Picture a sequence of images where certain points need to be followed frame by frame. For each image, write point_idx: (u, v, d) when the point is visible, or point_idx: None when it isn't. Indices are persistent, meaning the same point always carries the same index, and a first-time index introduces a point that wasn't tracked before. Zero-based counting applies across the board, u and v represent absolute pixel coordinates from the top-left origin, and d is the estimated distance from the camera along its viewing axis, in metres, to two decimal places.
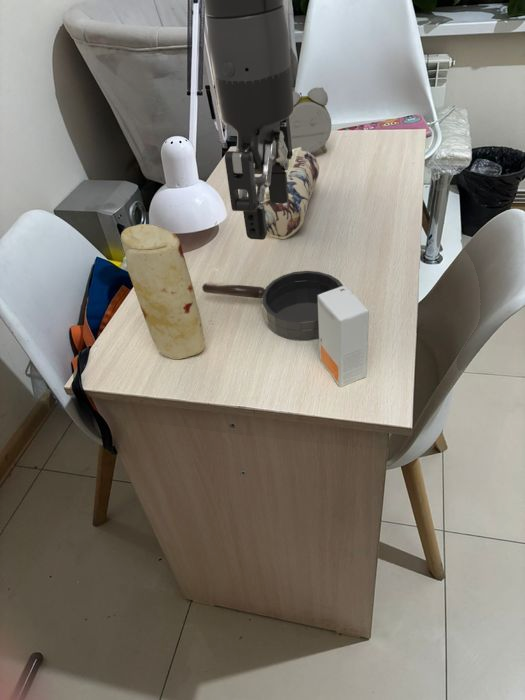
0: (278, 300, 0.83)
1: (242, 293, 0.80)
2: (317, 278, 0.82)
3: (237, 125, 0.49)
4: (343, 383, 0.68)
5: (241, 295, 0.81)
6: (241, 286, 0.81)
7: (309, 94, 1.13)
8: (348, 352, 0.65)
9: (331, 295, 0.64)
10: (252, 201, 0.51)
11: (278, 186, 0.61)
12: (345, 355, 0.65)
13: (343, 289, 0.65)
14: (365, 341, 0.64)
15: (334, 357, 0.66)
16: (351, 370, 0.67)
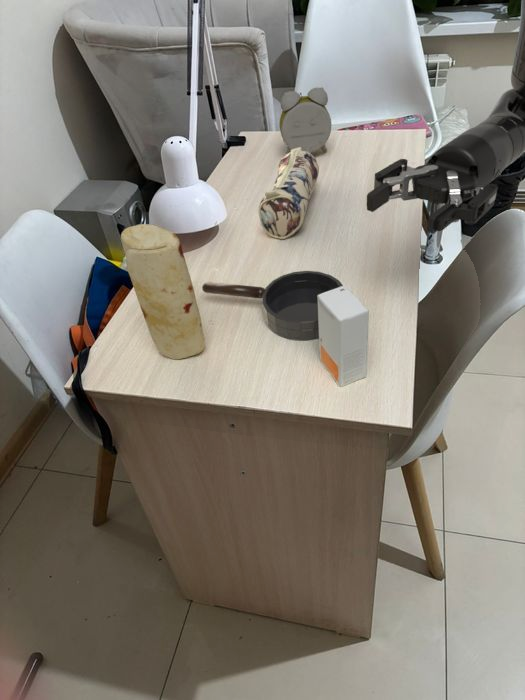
0: (278, 300, 0.83)
1: (242, 293, 0.80)
2: (317, 278, 0.82)
3: None
4: (343, 383, 0.68)
5: (241, 295, 0.81)
6: (241, 286, 0.81)
7: (309, 94, 1.13)
8: (348, 352, 0.65)
9: (331, 295, 0.64)
10: (379, 171, 0.66)
11: None
12: (345, 355, 0.65)
13: (343, 289, 0.65)
14: (365, 341, 0.64)
15: (334, 357, 0.66)
16: (351, 370, 0.67)
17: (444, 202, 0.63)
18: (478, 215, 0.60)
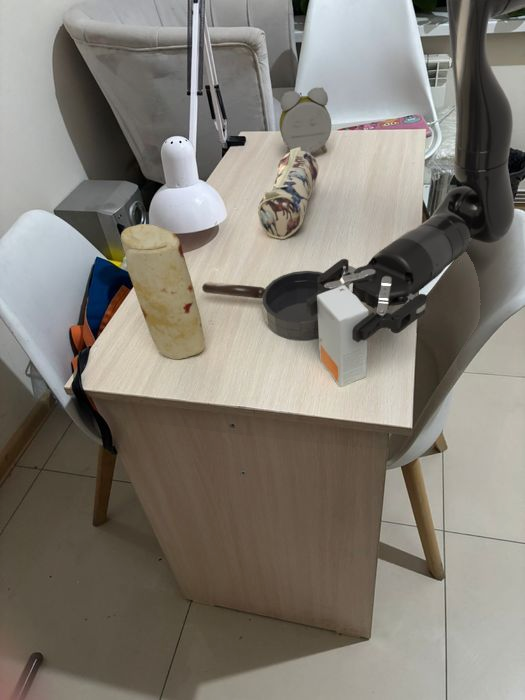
0: (278, 300, 0.83)
1: (242, 293, 0.80)
2: (317, 278, 0.82)
3: None
4: (343, 383, 0.68)
5: (241, 295, 0.81)
6: (241, 286, 0.81)
7: (309, 94, 1.13)
8: (348, 351, 0.65)
9: (330, 295, 0.64)
10: (322, 274, 0.69)
11: None
12: (345, 354, 0.65)
13: (343, 288, 0.65)
14: (365, 341, 0.64)
15: (334, 357, 0.66)
16: (351, 370, 0.67)
17: None
18: (404, 324, 0.63)
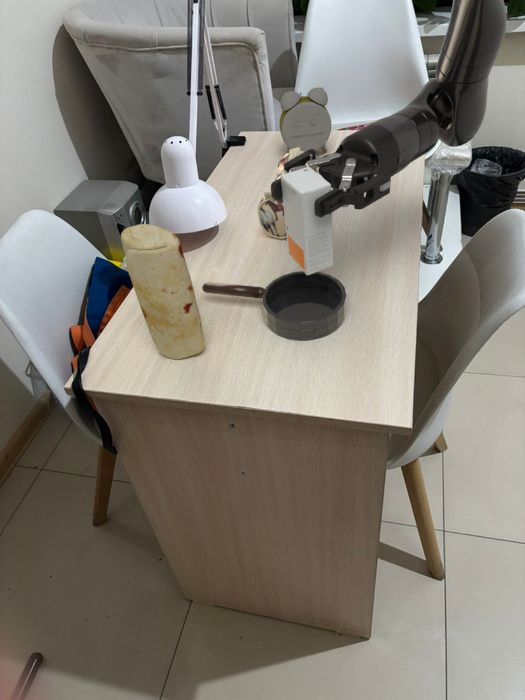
0: (278, 300, 0.83)
1: (242, 293, 0.80)
2: (317, 278, 0.82)
3: None
4: (310, 271, 0.68)
5: (241, 295, 0.81)
6: (241, 286, 0.81)
7: (309, 94, 1.13)
8: (313, 233, 0.64)
9: (294, 174, 0.63)
10: (289, 161, 0.68)
11: None
12: (309, 236, 0.64)
13: (307, 169, 0.64)
14: (329, 222, 0.64)
15: (299, 242, 0.66)
16: (317, 255, 0.66)
17: None
18: (367, 201, 0.62)
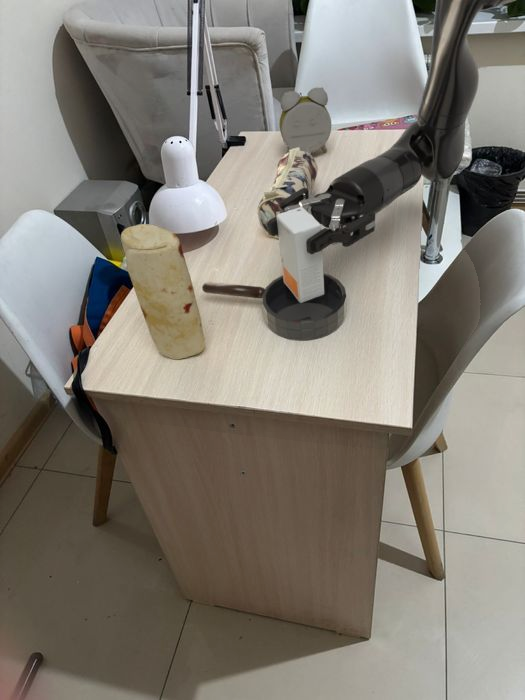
0: (278, 300, 0.83)
1: (242, 293, 0.80)
2: None
3: None
4: (303, 299, 0.75)
5: (241, 295, 0.81)
6: (241, 286, 0.81)
7: (309, 94, 1.13)
8: (305, 266, 0.71)
9: (288, 214, 0.70)
10: (284, 200, 0.75)
11: None
12: (302, 269, 0.71)
13: (300, 209, 0.71)
14: (320, 256, 0.71)
15: (293, 274, 0.73)
16: (309, 286, 0.74)
17: None
18: (354, 239, 0.69)
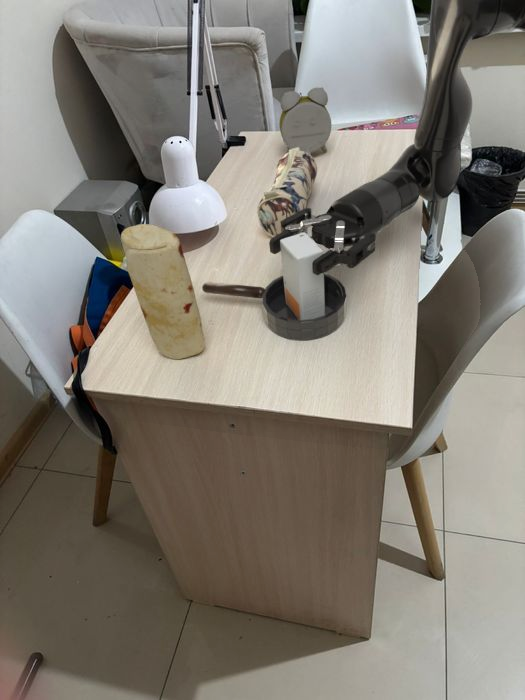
0: (278, 300, 0.83)
1: (242, 293, 0.80)
2: None
3: None
4: None
5: (241, 295, 0.81)
6: (241, 286, 0.81)
7: (309, 94, 1.13)
8: (307, 289, 0.74)
9: (291, 240, 0.73)
10: (285, 219, 0.78)
11: None
12: (304, 292, 0.74)
13: (303, 234, 0.74)
14: (321, 280, 0.74)
15: (295, 296, 0.76)
16: (310, 308, 0.76)
17: None
18: (358, 260, 0.71)
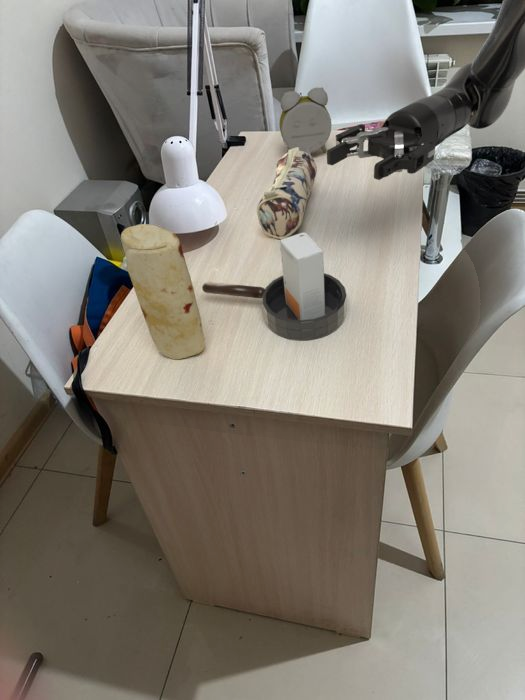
0: (278, 300, 0.83)
1: (242, 293, 0.80)
2: None
3: None
4: None
5: (241, 295, 0.81)
6: (241, 286, 0.81)
7: (309, 94, 1.13)
8: (307, 289, 0.74)
9: (291, 240, 0.73)
10: (340, 133, 0.78)
11: None
12: (304, 292, 0.74)
13: (303, 234, 0.74)
14: (321, 280, 0.74)
15: (295, 296, 0.76)
16: (310, 308, 0.76)
17: None
18: (418, 166, 0.71)
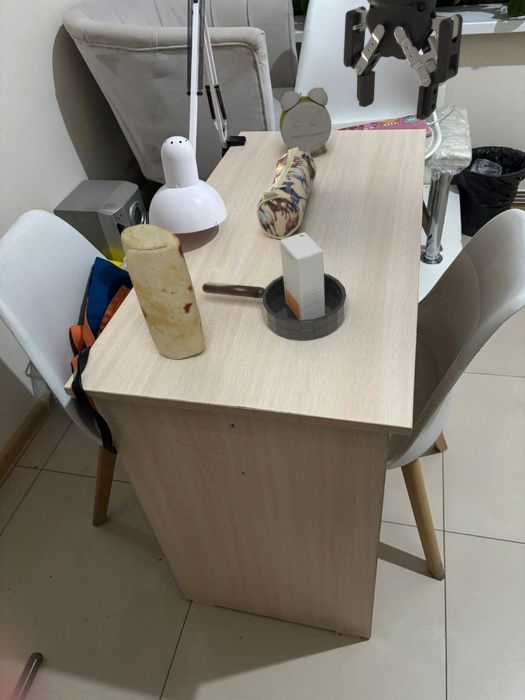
0: (278, 300, 0.83)
1: (242, 293, 0.80)
2: None
3: None
4: None
5: (241, 295, 0.81)
6: (241, 286, 0.81)
7: (309, 94, 1.13)
8: (307, 289, 0.74)
9: (291, 240, 0.73)
10: (344, 54, 0.63)
11: None
12: (304, 292, 0.74)
13: (303, 234, 0.74)
14: (321, 280, 0.74)
15: (295, 296, 0.76)
16: (310, 308, 0.76)
17: (418, 51, 0.58)
18: (455, 61, 0.55)
